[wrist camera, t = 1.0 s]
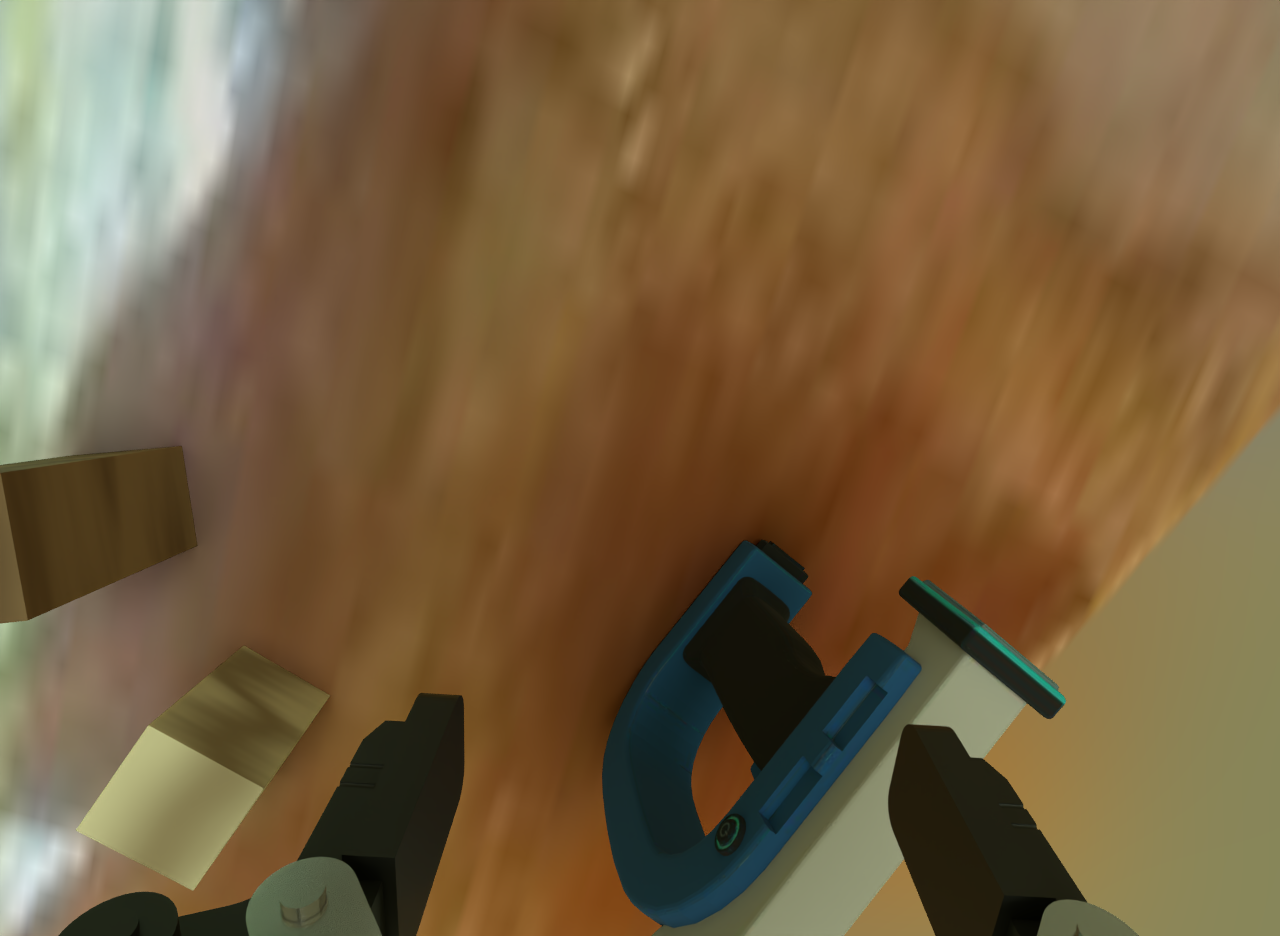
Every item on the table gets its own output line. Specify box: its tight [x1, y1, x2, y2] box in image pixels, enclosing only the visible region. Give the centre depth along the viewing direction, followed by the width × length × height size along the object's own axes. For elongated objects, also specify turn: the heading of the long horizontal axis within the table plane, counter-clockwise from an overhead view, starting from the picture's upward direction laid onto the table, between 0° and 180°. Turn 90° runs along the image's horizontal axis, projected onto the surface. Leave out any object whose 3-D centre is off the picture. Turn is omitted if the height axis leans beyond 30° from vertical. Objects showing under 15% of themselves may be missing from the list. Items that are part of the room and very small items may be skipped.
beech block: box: [76, 646, 330, 890], centre depth 33 cm, size 5×5×9 cm
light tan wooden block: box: [0, 446, 197, 623], centre depth 30 cm, size 5×5×12 cm
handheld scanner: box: [602, 540, 1066, 936], centre depth 30 cm, size 5×16×20 cm, turn 141°
